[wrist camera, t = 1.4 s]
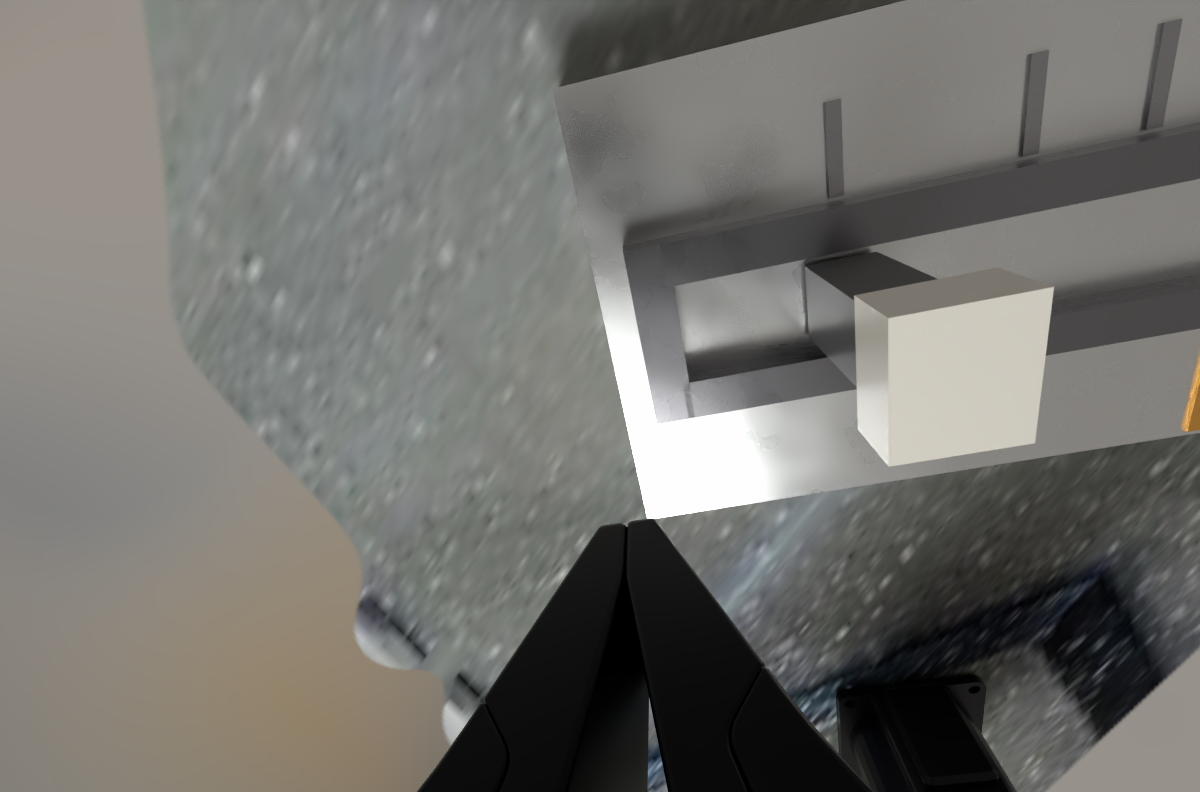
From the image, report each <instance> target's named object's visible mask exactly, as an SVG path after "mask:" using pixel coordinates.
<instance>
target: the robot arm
mask: <svg viewBox="0 0 1200 792" xmlns="http://www.w3.org/2000/svg"><path fill="white" fill-rule="evenodd" d="M985 694H986V686H985V684H984V683H983V681H982V680H981V678H980V677H979V676H977V675H963V676H954V677H946V678H937V679H929V680H920V681H912V682H903V683H895V684H886V685H878V686H869V687H861V688H852V689H845V690H842V691H840V692H839V693H838V694H837V696H836V705H837V722H838V739H839V753H838V752H837V751H836V750H835V749H834V748H833V747H832V746H831V745H830V744H829V742H828V741H827V740H826V739H825V738H824V737H823V736H822V735H821V734H820V733H819V732H818V730H817V729H816V728H815V727H814V726H813V725H812V723H811V722H810V721H809V720H808V719H807V717H806V716H805V715H804V714H803V712H802V711H801V710H800V709H799V707H798V706H797V705H796V704H795V703H794V701H793V700H792V699H791V698H790V696H789V695H788V694H787V693H786V691H785V690H784V689H783V687H782V686H781V685H780V683H779V682H778V681H777V679H776V678H775V677H774V676H773V674H772V673H771V672H770V670H769V669H767V668H765V665H764V663H763V662H762V660H761V659H760V658H759V656H758V655H757V654H756V652H755V651H754V650H753V648H752V647H751V646H750V644H749V643H748V642H747V640H746V639H745V638H744V636H743V635H742V634H741V632H740V631H739V630H738V628H737V627H736V626H735V624H734V623H733V622H732V621H731V619H730V618H729V617H728V615H727V614H726V613H725V611H724V610H723V609H722V607H721V606H720V605H719V603H718V602H717V601H716V599H715V598H714V597H713V595H712V594H711V593H710V591H709V590H708V589H707V587H706V586H705V585H704V583H703V582H702V581H701V580H700V578H699V577H698V576H697V574H696V573H695V572H694V570H693V569H692V568H691V566H690V565H689V564H688V562H687V561H686V560H685V558H684V557H683V556H682V554H681V553H680V552H679V550H678V549H677V548H676V546H675V545H674V544H673V543H672V541H671V540H670V539H669V537H668V536H667V535H666V533H665V532H664V531H663V529H662V528H661V527H660V525H659V524H658V523H657V521H656V520H655V519H653V518H648V519H642V520H635V521H631V522H629V523H628V525H626V524H625V523H616V524H610V525H604V526H601V527H600V528H599V529H598V530H597V531H596V533H595V534H594V536H593V537H592V539H591V540H590V542H589V543H588V545H587V546H586V548H585V549H584V551H583V552H582V554H581V555H580V557H579V558H578V560H577V561H576V562H575V564H574V565H573V567H572V568H571V570H570V571H569V573H568V574H567V576H566V577H565V579H564V580H563V582H562V583H561V585H560V586H559V588H558V589H557V591H556V592H555V594H554V595H553V597H552V598H551V600H550V601H549V603H548V604H547V606H546V607H545V609H544V610H543V611H542V613H541V614H540V616H539V617H538V619H537V620H536V622H535V623H534V625H533V626H532V628H531V629H530V631H529V632H528V634H527V635H526V637H525V638H524V640H523V641H522V643H521V644H520V646H519V647H518V649H517V650H516V652H515V653H514V655H513V656H512V657H511V659H510V660H509V662H508V663H507V665H506V666H505V668H504V669H503V671H502V672H501V674H500V675H499V677H498V678H497V680H496V681H495V683H494V684H493V686H492V687H491V689H490V690H489V692H488V693H487V695H486V696H485V698H484V703H485V704H484V703H481V704H480V705H479V706H478V708H477V709H476V711H475V712H474V713H473V715H472V716H471V718H470V719H469V721H468V722H467V724H466V725H465V727H464V728H463V730H462V731H461V733H460V734H459V735H458V737H457V738H456V740H455V741H454V742H453V744H452V745H451V747H450V748H449V749H448V751H447V752H446V754H445V755H444V757H443V758H442V759H441V761H440V762H439V764H438V765H437V766H436V768H435V769H434V770H433V772H432V773H431V774H430V776H429V777H428V778H427V780H426V781H425V782H424V783H423V784H422V786H421V787H420V788H419V790H418V791H417V792H647V781H648V722H649V698H650V703H651V708H652V713H653V718H654V723H655V728H656V733H657V738H658V743H659V748H660V753H661V758H662V763H663V768H664V773H665V778H666V783H667V788H668V792H1017V791H1016V789H1015V788H1014V786H1013V784H1012V783H1011V781H1010V780H1009V778H1008V776H1007V775H1006V773H1005V771H1004V770H1003V768H1002V766H1001V765H1000V763H999V761H998V760H997V758H996V757H995V755H994V753H993V752H992V750H991V748H990V747H989V745H988V743H987V742H986V740H985V739H984V737H983V735H982V734H981V733H982V723H983V713H984V704H985Z"/></svg>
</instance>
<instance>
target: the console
mask: <svg viewBox="0 0 1200 792" xmlns="http://www.w3.org/2000/svg"><path fill="white" fill-rule="evenodd" d="M553 93H554V97H555V102H556V106H557V111H558V116H559V120H560V125H561V129H562V134H563V138H564V143H565V147H566V152H567V156H568V161H569V165H570V170H571V174H572V179H573V183H574V188H575V193H576V197H577V202H578V206H579V211H580V215H581V220H582V224H583V229H584V233H585V238H586V242H587V247H588V251H589V256H590V260H591V265H592V269H593V274H594V279H595V283H596V288H597V292H598V297H599V301H600V306H601V310H602V315H603V319H604V324H605V328H606V333H607V337H608V342H609V346H610V351H611V355H612V360H613V365H614V369H615V374H616V378H617V383H618V387H619V392H620V396H621V401H622V405H623V410H624V414H625V419H626V423H627V428H628V432H629V437H630V441H631V446H632V451H633V455H634V460H635V464H636V469H637V473H638V478H639V482H640V487H641V491H642V496H643V500H644V505H645V509H646V514H647V518H653V519H656V518H662V517H668V516H675V515H681V514H687V513H694V512H700V511H707V510H713V509H719V508H726V507H732V506H738V505H745V504H751V503H757V502H764V501H770V500H776V499H783V498H789V497H795V496H802V495H808V494H814V493H821V492H827V491H834V490H840V489H846V488H853V487H859V486H865V485H872V484H878V483H884V482H891V481H897V480H903V479H910V478H916V477H922V476H929V475H935V474H941V473H948V472H954V471H960V470H967V469H973V468H980V467H986V466H992V465H999V464H1005V463H1011V462H1018V461H1024V460H1030V459H1037V458H1043V457H1049V456H1056V455H1062V454H1068V453H1075V452H1081V451H1087V450H1094V449H1100V448H1107V447H1113V446H1119V445H1126V444H1132V443H1138V442H1145V441H1151V440H1157V439H1164V438H1170V437H1176V436H1183V435H1189V434H1195V433H1200V0H905V1H901V2H897V3H893V4H889V5H885V6H881V7H877V8H873V9H869V10H865V11H861V12H857V13H853V14H849V15H845V16H841V17H837V18H833V19H829V20H825V21H821V22H817V23H813V24H809V25H805V26H801V27H797V28H793V29H789V30H785V31H781V32H777V33H773V34H769V35H765V36H761V37H757V38H753V39H749V40H745V41H741V42H737V43H733V44H729V45H725V46H721V47H717V48H713V49H709V50H705V51H701V52H697V53H693V54H689V55H685V56H681V57H677V58H673V59H669V60H665V61H661V62H657V63H653V64H649V65H645V66H641V67H637V68H633V69H629V70H625V71H621V72H617V73H613V74H609V75H606V76H602V77H598V78H594V79H590V80H586V81H582V82H578V83H574V84H570V85H566V86H562V87H558V88H554V89H553ZM872 252H879V253H881V254H883V255H885V256H888V257H890V258H892V259H894V260H897V261H899V262H901V263H903V264H906V265H908V266H910V267H912V268H915V269H917V270H919V271H921V272H924V273H926V274H928V275H930V276H933V277H935V278H937V279H941V278H946V277H951V276H956V275H961V274H966V273H971V272H977V271H982V270H987V269H992V268H997V267H998V268H1001V269H1004V270H1007V271H1010V272H1012V273H1015V274H1018V275H1021V276H1024V277H1027V278H1030V279H1033V280H1036V281H1038V282H1041V283H1044V284H1047V285H1050V286H1053V287H1054V292H1053V300H1052V308H1051V316H1050V324H1049V333H1048V341H1047V349H1046V357H1045V365H1044V373H1043V381H1042V389H1041V398H1040V406H1039V414H1038V422H1037V430H1036V438H1035V443H1034V444H1027V445H1021V446H1015V447H1009V448H1002V449H996V450H990V451H984V452H977V453H971V454H965V455H959V456H953V457H946V458H940V459H934V460H928V461H921V462H915V463H909V464H903V465H896V466H890V467H888V466H887V464H886V463H885V462H884V461H883V459H882V458H881V457H880V456H879V455H878V453H877V452H876V451H875V450H874V448H873V447H872V446H871V445H870V444H869V442H868V441H867V440H866V439H865V438H864V436H863V435H862V434H861V433H860V431H859V430H858V417H857V387H856V386H855V385H854V384H853V383H852V382H851V381H850V380H849V379H848V378H847V377H846V376H845V375H844V374H843V372H842V371H841V370H840V369H839V368H838V367H837V366H836V365H835V364H834V363H833V362H832V361H831V360H830V359H829V358H828V357H827V356H826V355H825V354H824V353H823V352H822V350H821V349H820V348H819V347H818V346H817V345H816V344H815V343H814V342H813V341H812V340H811V339H810V338H809V327H808V312H807V296H806V280H805V266H808V265H813V264H818V263H823V262H828V261H833V260H837V259H842V258H847V257H852V256H857V255H862V254H867V253H872Z"/></svg>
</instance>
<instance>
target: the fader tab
mask: <svg viewBox="0 0 1200 792" xmlns="http://www.w3.org/2000/svg"><path fill="white" fill-rule="evenodd" d="M805 280H806V296H807V312H808V327H809V338H810V339H811V340H812V341H813V342H814V343H815V344H816V345H817V346H818V347H819V348H820V349H821V350H822V352H823V353H824V354H825V355H826V356H827V357H828V358H829V359H830V360H831V361H832V362H833V363H834V364H835V365H836V366H837V367H838V368H839V369H840V370H841V371H842V372H843V374H844V375H845V376H846V377H847V378H848V379H849V380H850V381H851V382H852V383H853V384H854V385H855V386H856V387H857V417H858V430H859V431H860V433H861V434H862V435H863V436H864V438H865V439H866V440H867V441H868V442H869V444H870V445H871V446H872V447H873V448H874V450H875V451H876V452H877V453H878V455H879V456H880V457H881V458H882V459H883V461H884V462H885V463H886V464H887V466H888V467H890V466H896V465H903V464H909V463H915V462H921V461H928V460H934V459H940V458H946V457H953V456H959V455H965V454H971V453H977V452H984V451H990V450H996V449H1002V448H1009V447H1015V446H1021V445H1027V444H1034V443H1035V438H1036V430H1037V422H1038V414H1039V406H1040V398H1041V389H1042V381H1043V373H1044V365H1045V357H1046V349H1047V341H1048V333H1049V324H1050V316H1051V308H1052V300H1053V292H1054V287H1053V286H1050V285H1047V284H1044V283H1041V282H1038V281H1036V280H1033V279H1030V278H1027V277H1024V276H1021V275H1018V274H1015V273H1012V272H1010V271H1007V270H1004V269H1001V268H998V267H997V268H992V269H987V270H982V271H977V272H971V273H966V274H961V275H956V276H951V277H946V278H941V279H937V278H935V277H933V276H930V275H928V274H926V273H924V272H921V271H919V270H917V269H915V268H912V267H910V266H908V265H906V264H903V263H901V262H899V261H897V260H894V259H892V258H890V257H888V256H885V255H883V254H881V253H879V252H872V253H867V254H862V255H857V256H852V257H847V258H842V259H837V260H833V261H828V262H823V263H818V264H813V265H808V266H805Z"/></svg>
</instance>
